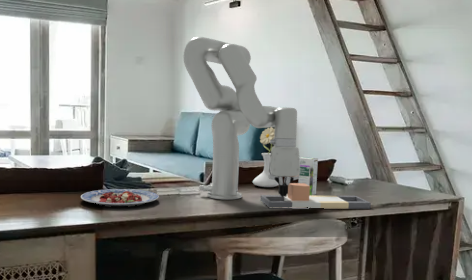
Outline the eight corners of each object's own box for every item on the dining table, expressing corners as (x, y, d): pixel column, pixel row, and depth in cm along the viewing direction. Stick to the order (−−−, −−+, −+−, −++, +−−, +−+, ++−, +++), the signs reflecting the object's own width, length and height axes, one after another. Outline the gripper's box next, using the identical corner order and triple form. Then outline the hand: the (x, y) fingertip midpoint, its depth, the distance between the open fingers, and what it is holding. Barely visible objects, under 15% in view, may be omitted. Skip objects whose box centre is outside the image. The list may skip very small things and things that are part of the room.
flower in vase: (248, 184, 223) (251, 125, 221) (273, 184, 227) (276, 126, 225) (259, 189, 211) (261, 127, 209) (285, 189, 214) (288, 128, 212)
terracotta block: (292, 200, 181) (292, 186, 180) (287, 197, 187) (288, 183, 186) (309, 200, 182) (309, 186, 181) (304, 197, 188) (304, 183, 187)
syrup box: (297, 195, 203) (298, 157, 202) (302, 192, 208) (304, 156, 207) (311, 196, 200) (313, 158, 199) (316, 194, 205) (318, 157, 204)
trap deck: (268, 208, 176) (269, 202, 176) (260, 200, 189) (260, 195, 189) (370, 208, 182) (370, 202, 182) (355, 201, 195) (355, 195, 195)
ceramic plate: (77, 196, 186) (77, 187, 186) (150, 194, 195) (150, 186, 195) (84, 212, 162) (84, 202, 162) (166, 208, 171) (166, 199, 171)
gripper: (266, 143, 177) (264, 198, 178) (309, 144, 179) (307, 198, 181) (261, 142, 184) (259, 194, 186) (302, 142, 187) (300, 194, 188)
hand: (283, 195), depth 183 cm, fingers closed
